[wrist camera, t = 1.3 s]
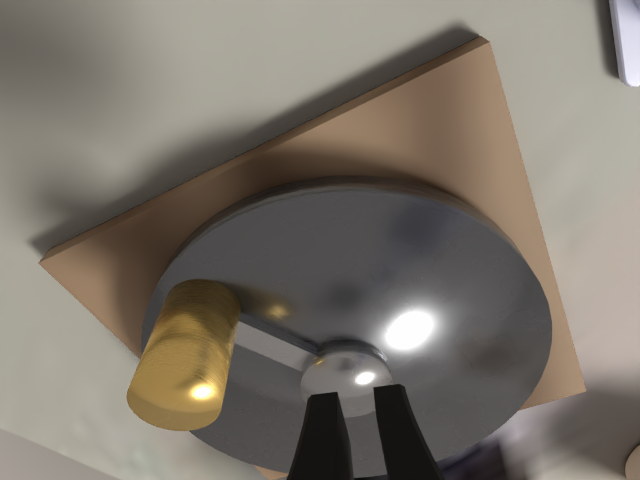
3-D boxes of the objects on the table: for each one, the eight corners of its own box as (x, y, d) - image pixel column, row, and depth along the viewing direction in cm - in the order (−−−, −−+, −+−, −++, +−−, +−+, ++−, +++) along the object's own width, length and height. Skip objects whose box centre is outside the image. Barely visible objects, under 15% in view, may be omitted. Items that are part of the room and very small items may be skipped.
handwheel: (471, 86, 15) (551, 167, 10) (567, 391, 25) (636, 518, 19) (68, 276, 20) (-22, 400, 15) (275, 474, 29) (265, 596, 24)
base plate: (480, 35, 16) (490, 42, 15) (577, 376, 26) (587, 393, 25) (49, 249, 21) (36, 264, 20) (271, 465, 31) (269, 482, 30)
